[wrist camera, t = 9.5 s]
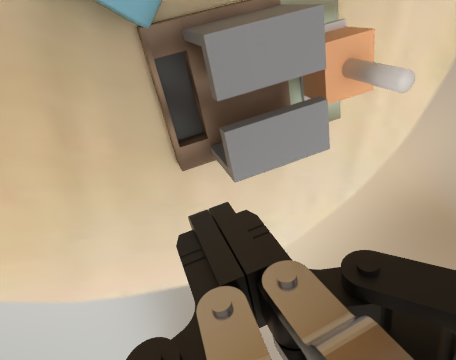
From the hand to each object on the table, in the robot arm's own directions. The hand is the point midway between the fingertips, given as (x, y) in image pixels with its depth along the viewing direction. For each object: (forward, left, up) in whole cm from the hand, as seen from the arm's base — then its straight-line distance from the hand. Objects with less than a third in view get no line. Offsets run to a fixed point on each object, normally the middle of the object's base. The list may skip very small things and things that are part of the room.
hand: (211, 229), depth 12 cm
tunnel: (+3, +11, -27) cm, 29 cm away
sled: (+3, +22, -26) cm, 34 cm away
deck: (+3, +13, -29) cm, 32 cm away
